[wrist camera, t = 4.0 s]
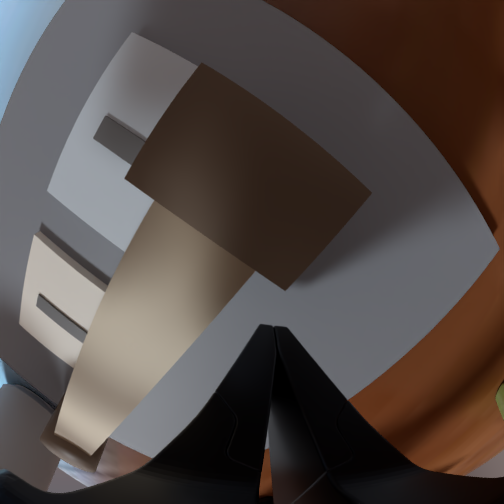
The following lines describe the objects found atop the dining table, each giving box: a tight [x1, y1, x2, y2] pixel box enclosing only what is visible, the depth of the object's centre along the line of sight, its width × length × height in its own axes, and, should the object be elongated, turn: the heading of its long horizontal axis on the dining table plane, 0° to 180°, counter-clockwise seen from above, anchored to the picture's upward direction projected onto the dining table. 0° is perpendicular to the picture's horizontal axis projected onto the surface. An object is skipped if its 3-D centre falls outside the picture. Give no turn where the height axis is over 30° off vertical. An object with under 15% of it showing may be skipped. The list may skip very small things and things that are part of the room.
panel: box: [0, 0, 499, 458], centre depth 10 cm, size 20×24×1 cm
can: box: [0, 384, 60, 491], centre depth 11 cm, size 8×8×12 cm
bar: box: [40, 63, 372, 472], centre depth 9 cm, size 20×4×4 cm, turn 143°
